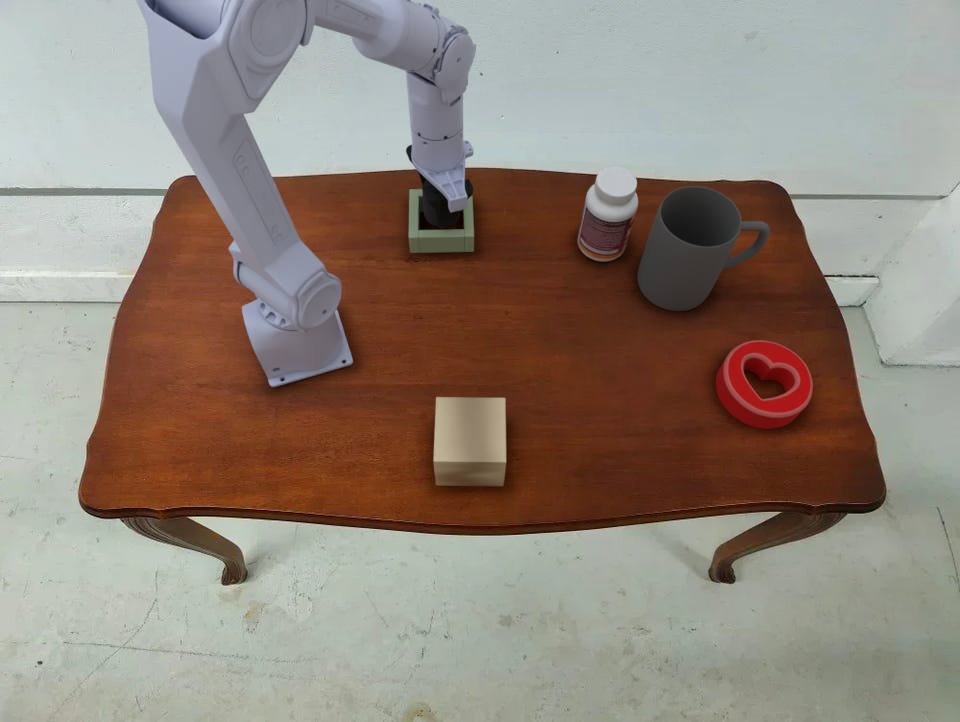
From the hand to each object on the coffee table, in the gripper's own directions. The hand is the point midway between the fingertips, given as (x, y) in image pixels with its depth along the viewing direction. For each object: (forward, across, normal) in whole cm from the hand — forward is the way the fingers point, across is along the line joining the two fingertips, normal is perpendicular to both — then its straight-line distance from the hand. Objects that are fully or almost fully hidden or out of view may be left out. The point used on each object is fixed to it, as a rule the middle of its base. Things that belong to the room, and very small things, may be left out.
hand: (441, 209), depth 88 cm
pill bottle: (+4, -9, -18) cm, 21 cm away
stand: (+3, -31, +7) cm, 32 cm away
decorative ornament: (+4, -34, -26) cm, 43 cm away
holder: (+3, 0, 0) cm, 3 cm away
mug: (+4, -18, -26) cm, 32 cm away
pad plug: (+1, 0, 0) cm, 1 cm away
